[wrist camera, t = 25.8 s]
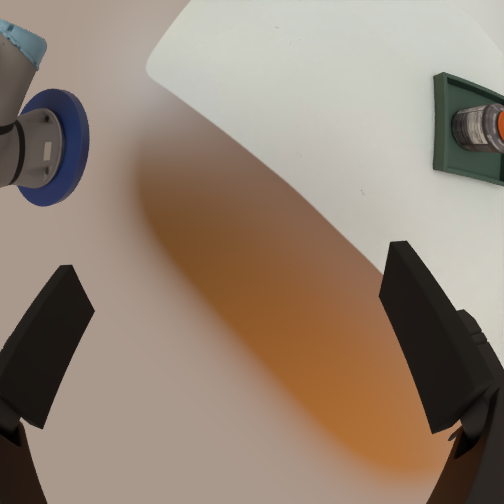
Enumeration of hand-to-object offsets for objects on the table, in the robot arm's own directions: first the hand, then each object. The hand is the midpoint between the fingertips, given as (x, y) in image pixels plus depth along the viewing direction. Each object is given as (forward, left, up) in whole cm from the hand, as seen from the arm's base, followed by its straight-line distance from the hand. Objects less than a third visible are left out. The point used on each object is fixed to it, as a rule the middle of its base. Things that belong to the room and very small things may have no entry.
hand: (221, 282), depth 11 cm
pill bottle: (+27, +12, -26) cm, 39 cm away
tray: (+28, +12, -26) cm, 40 cm away
